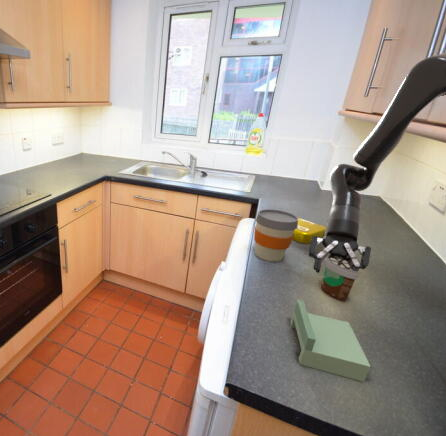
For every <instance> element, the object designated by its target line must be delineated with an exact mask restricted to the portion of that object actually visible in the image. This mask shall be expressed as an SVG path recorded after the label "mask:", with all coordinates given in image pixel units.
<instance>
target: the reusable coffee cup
mask: <svg viewBox="0 0 446 436" xmlns="http://www.w3.org/2000/svg"><path fill="white" fill-rule="evenodd" d="M298 218H299V217H298V216H296V215H295V214H294V213H291V212H287V211H285V210H278V209H273V208H272V209H271V208H268V209H267V208H266V209H261V210H258V212H257V215H256V217H255V222H256V225H255V227H254V236H253V240H254V255H255V256H256V257H257V258H259V259H261V260H264V261H267V262H273V261H274V262H275V263H276V261H277V262H281V261H282V260H283V259H284V256H285V254H286V252H287V249H289V248H290V246H291V244H292V241H293V240H292V239H293V237H294V231H295V229H297V225H298ZM274 262H273V263H274Z"/></svg>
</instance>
